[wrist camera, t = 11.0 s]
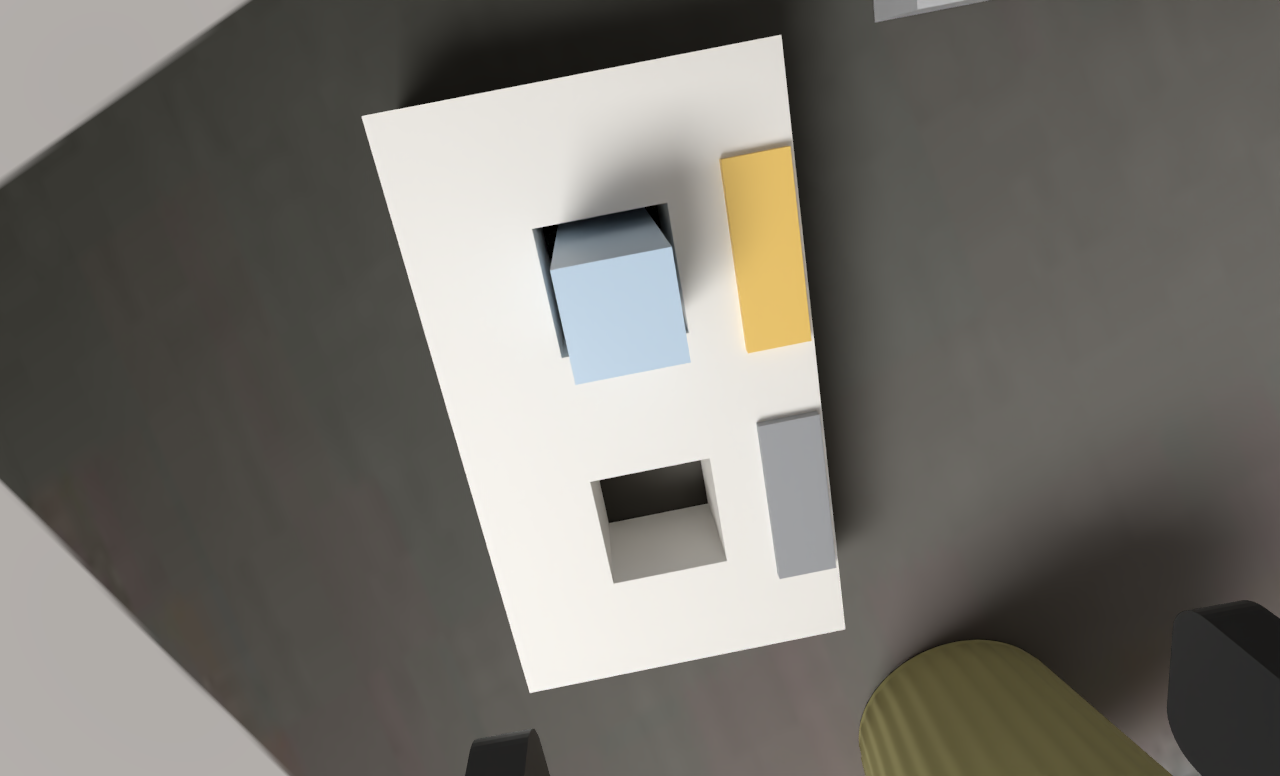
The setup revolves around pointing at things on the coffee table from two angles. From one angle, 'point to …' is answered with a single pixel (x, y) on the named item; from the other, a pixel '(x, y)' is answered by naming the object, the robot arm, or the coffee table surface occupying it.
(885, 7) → the holster
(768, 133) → the port panel
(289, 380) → the coffee table surface
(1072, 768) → the potted cactus
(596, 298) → the plug
